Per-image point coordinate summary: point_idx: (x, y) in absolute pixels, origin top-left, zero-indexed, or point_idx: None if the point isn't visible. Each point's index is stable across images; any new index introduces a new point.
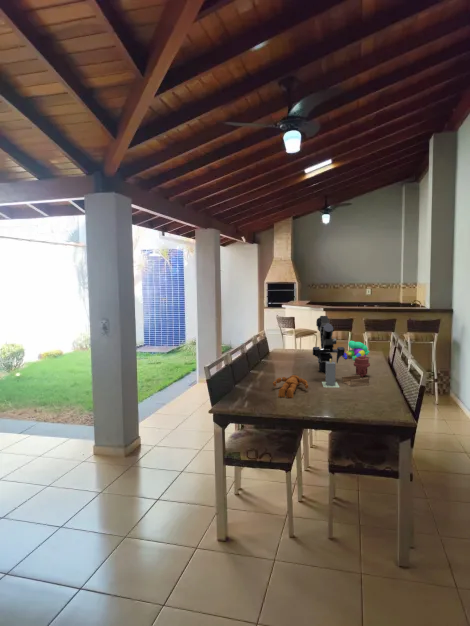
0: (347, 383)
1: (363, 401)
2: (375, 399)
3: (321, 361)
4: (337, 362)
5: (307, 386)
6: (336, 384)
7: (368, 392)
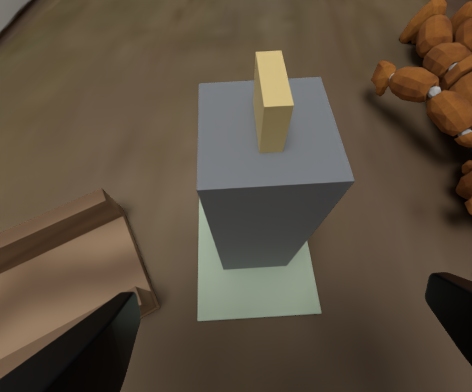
0: (129, 255)
1: (143, 37)
2: (89, 56)
3: (454, 279)
4: (127, 292)
5: (377, 68)
6: (210, 243)
7: (72, 126)
